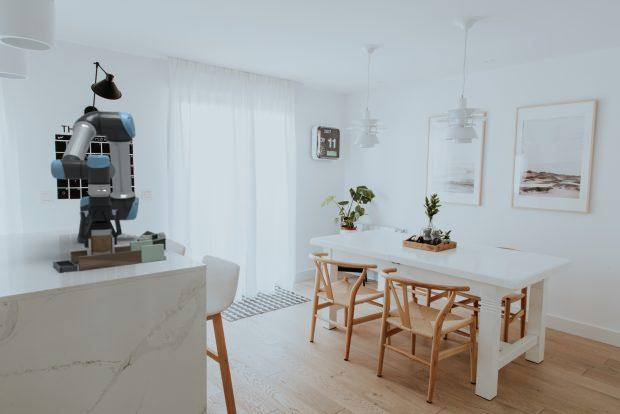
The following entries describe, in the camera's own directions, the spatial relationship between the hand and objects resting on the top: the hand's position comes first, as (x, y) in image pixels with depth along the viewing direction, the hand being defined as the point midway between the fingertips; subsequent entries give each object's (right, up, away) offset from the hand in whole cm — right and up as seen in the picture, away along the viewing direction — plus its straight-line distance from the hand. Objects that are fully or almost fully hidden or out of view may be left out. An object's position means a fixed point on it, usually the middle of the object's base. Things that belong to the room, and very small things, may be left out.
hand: (101, 254), depth 158 cm
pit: (-9, -4, -8) cm, 13 cm away
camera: (+9, -2, +26) cm, 27 cm away
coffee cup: (0, -2, 0) cm, 2 cm away
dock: (+13, -3, +12) cm, 18 cm away
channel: (+1, -4, +1) cm, 4 cm away
